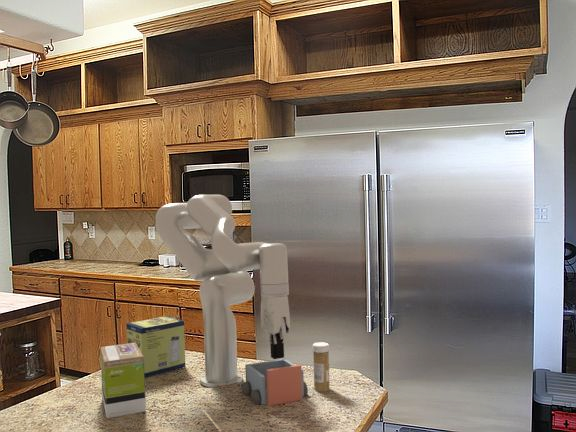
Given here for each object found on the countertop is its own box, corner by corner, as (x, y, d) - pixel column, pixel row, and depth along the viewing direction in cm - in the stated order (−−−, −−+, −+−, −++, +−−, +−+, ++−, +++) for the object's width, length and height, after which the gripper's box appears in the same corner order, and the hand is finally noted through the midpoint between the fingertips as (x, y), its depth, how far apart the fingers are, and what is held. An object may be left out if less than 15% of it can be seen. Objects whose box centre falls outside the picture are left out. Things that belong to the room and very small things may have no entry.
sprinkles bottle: (333, 392, 146) (332, 344, 146) (320, 396, 144) (319, 346, 143) (323, 387, 150) (322, 340, 150) (310, 391, 147) (309, 343, 147)
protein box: (126, 371, 169) (125, 323, 169) (169, 360, 180) (168, 315, 179) (142, 379, 161) (140, 328, 161) (186, 367, 172) (185, 319, 171)
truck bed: (241, 394, 146) (240, 365, 146) (289, 385, 153) (289, 357, 152) (257, 409, 136) (256, 378, 135) (308, 398, 142) (308, 369, 142)
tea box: (101, 399, 145) (99, 345, 145) (138, 393, 149) (137, 341, 149) (105, 419, 131) (103, 360, 131) (146, 412, 135) (145, 354, 135)
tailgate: (267, 404, 136) (266, 369, 136) (300, 398, 140) (299, 364, 140) (269, 405, 135) (268, 371, 135) (302, 399, 139) (301, 365, 139)
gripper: (251, 287, 147) (254, 353, 147) (272, 294, 134) (275, 366, 134) (276, 285, 150) (279, 349, 150) (299, 291, 137) (302, 362, 137)
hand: (277, 357), depth 142 cm, fingers closed
